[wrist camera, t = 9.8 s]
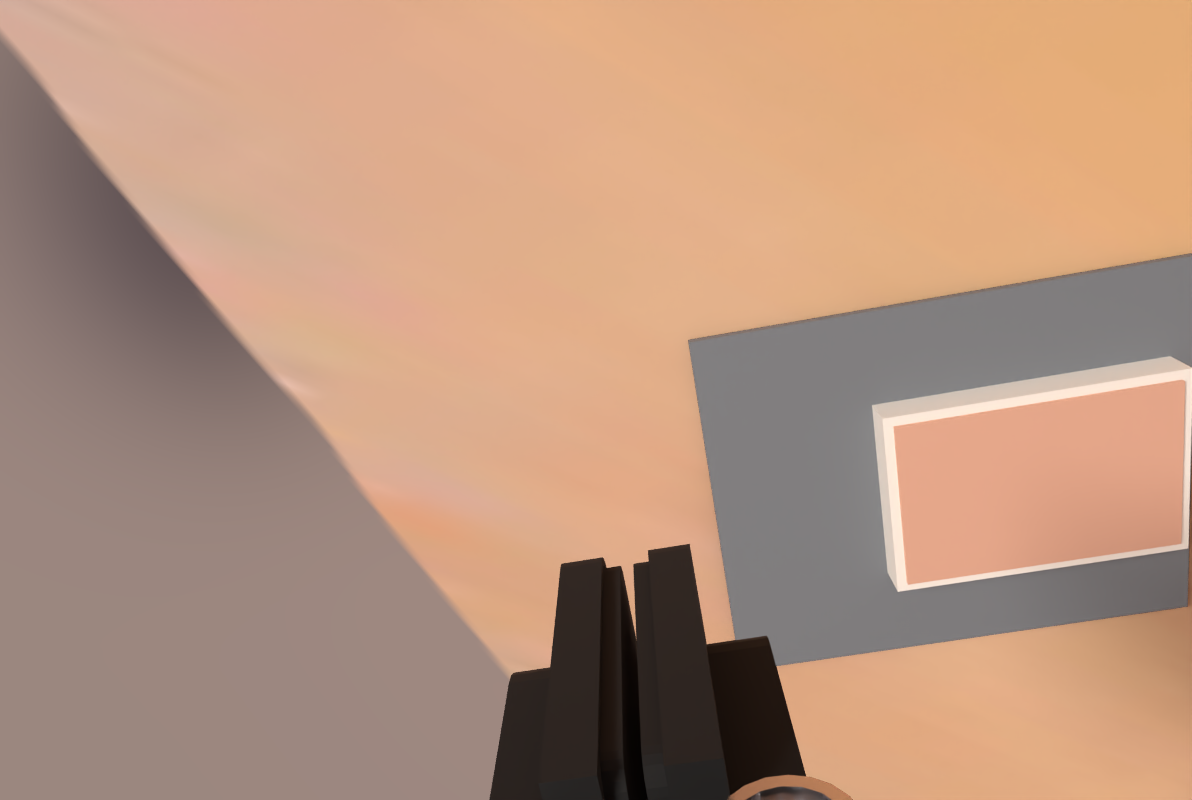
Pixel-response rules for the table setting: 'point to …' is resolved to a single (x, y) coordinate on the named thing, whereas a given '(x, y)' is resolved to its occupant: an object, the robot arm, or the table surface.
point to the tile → (1036, 473)
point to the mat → (849, 460)
